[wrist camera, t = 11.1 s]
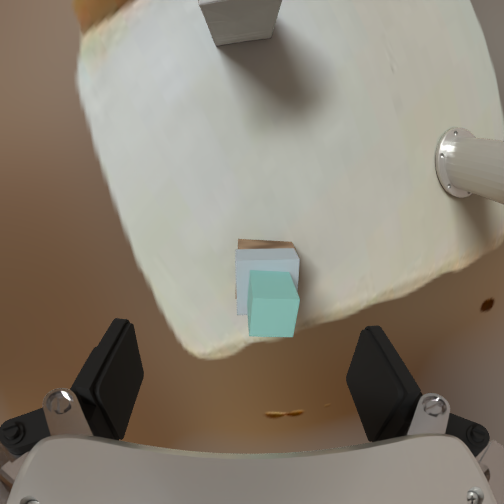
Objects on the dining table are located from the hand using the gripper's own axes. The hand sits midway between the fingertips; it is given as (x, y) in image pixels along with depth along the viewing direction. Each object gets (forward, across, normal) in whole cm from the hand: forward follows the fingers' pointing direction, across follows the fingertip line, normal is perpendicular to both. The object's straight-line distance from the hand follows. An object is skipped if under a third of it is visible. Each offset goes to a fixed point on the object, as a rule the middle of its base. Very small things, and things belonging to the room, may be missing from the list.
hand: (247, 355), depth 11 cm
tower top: (+28, -4, +10) cm, 30 cm away
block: (+24, -4, +10) cm, 27 cm away
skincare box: (+32, +2, -26) cm, 42 cm away
